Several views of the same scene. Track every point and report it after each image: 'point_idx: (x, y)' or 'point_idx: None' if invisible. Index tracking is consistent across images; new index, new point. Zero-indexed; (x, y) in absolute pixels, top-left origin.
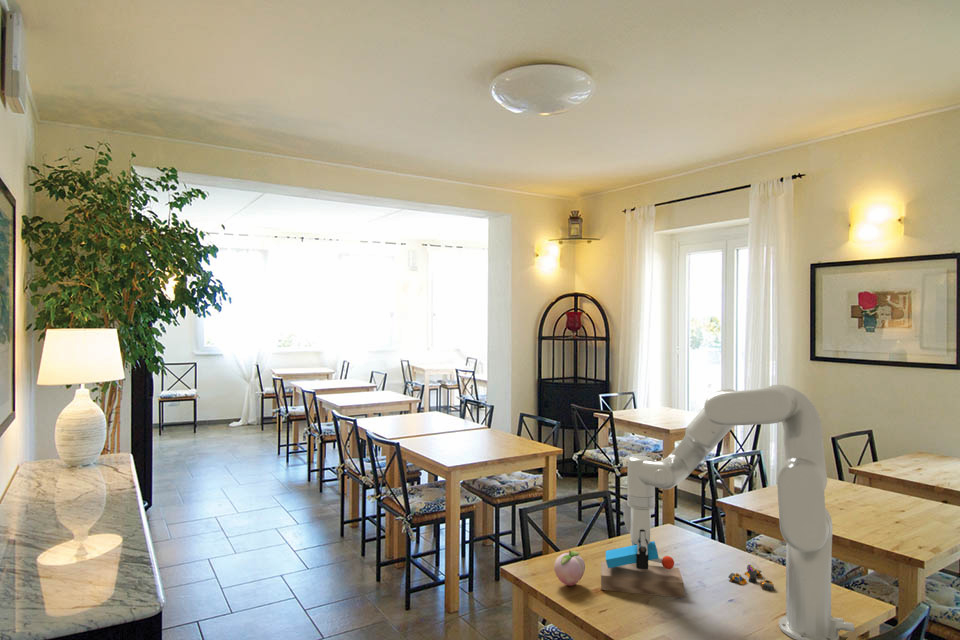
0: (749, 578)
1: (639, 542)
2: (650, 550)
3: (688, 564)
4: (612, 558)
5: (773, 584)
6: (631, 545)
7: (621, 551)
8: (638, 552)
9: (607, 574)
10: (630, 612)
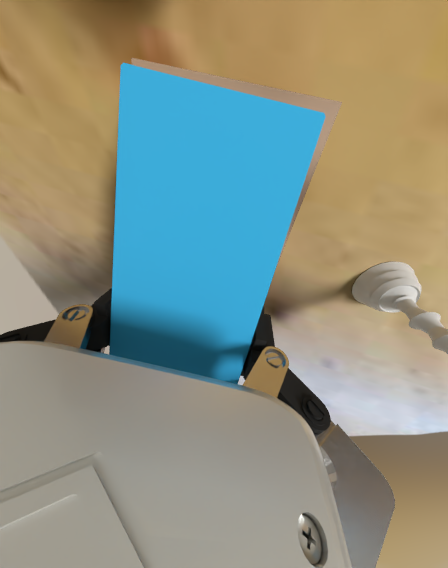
0: None
1: (249, 366)
2: None
3: (320, 377)
4: (118, 134)
5: None
6: (435, 319)
7: (210, 235)
8: (61, 318)
9: None
10: (44, 182)
